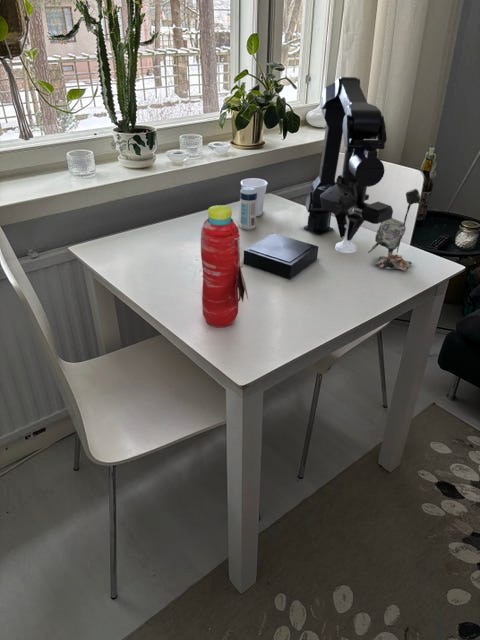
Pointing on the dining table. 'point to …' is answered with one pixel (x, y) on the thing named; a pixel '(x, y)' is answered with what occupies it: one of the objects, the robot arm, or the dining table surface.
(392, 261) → the grey mottled stone figure
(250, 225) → the white supplement bottle
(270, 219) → the dining table surface
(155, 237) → the dining table surface
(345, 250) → the chess piece
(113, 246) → the dining table surface
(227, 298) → the water bottle
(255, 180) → the dixie cup
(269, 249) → the stand
